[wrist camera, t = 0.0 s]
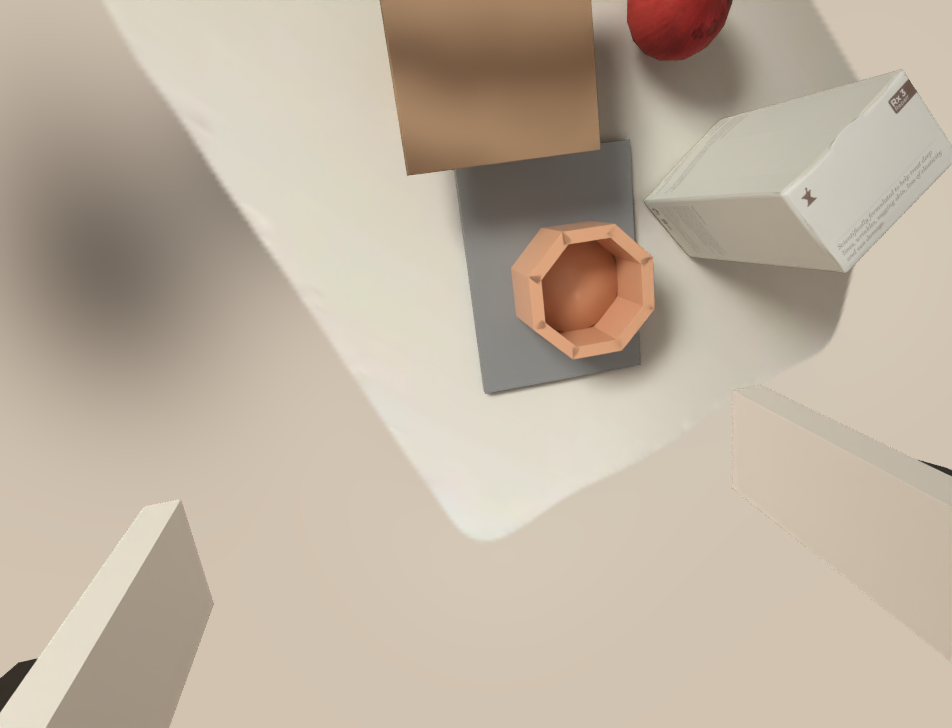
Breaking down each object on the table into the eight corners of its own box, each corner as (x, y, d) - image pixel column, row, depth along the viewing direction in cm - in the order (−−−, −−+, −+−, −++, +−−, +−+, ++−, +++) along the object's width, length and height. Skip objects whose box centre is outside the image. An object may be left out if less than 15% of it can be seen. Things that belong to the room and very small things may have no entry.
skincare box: (687, 257, 43) (842, 287, 29) (636, 197, 41) (777, 199, 27) (770, 172, 43) (969, 162, 29) (723, 107, 41) (912, 63, 27)
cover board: (372, -48, 30) (372, -60, 29) (576, -65, 32) (586, -77, 30) (407, 175, 33) (409, 174, 32) (590, 151, 35) (600, 149, 34)
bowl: (506, 232, 40) (524, 237, 36) (621, 215, 41) (651, 218, 37) (519, 348, 42) (537, 366, 38) (627, 329, 43) (656, 344, 39)
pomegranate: (702, -9, 38) (785, -58, 31) (672, 83, 40) (745, 57, 32) (624, -43, 37) (691, -104, 30) (595, 53, 38) (652, 19, 31)
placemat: (453, 162, 39) (454, 162, 38) (626, 140, 40) (629, 139, 40) (483, 391, 43) (485, 393, 43) (637, 362, 45) (640, 364, 44)
